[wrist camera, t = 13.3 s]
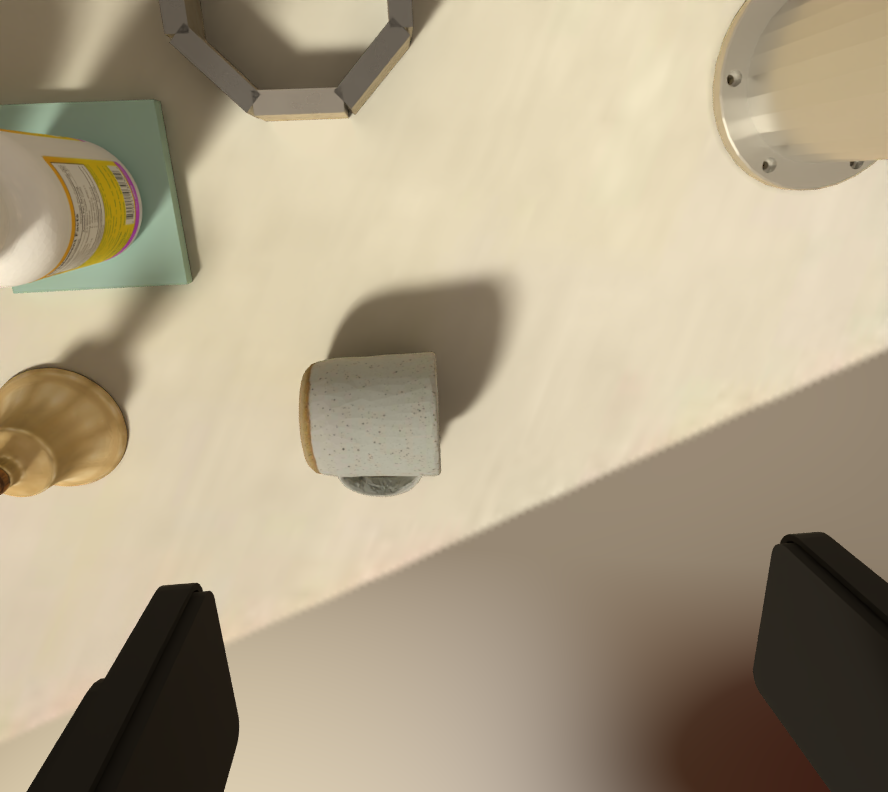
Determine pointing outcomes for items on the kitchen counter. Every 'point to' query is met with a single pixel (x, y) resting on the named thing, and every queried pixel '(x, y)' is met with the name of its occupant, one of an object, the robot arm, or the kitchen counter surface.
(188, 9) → the collar
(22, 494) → the hand bell
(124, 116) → the pad
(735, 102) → the robot arm
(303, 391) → the ceramic mug
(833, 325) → the kitchen counter surface
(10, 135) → the supplement bottle
